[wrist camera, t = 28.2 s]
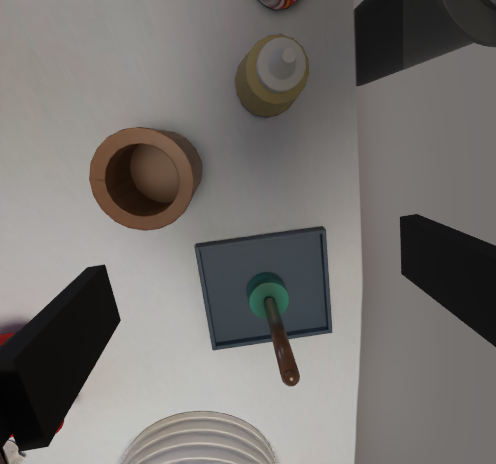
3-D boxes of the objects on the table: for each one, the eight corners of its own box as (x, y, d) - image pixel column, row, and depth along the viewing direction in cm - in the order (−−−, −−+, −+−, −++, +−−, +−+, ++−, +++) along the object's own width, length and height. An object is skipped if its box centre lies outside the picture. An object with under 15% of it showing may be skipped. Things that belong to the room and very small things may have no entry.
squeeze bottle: (268, 39, 44) (297, -25, 27) (306, 91, 46) (355, 62, 29) (221, 82, 45) (220, 47, 28) (260, 131, 47) (281, 126, 30)
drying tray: (322, 226, 52) (325, 229, 50) (329, 326, 56) (332, 332, 54) (195, 243, 51) (194, 247, 49) (213, 344, 55) (212, 350, 54)
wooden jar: (195, 126, 46) (184, 121, 33) (207, 199, 49) (201, 223, 36) (120, 136, 46) (77, 135, 33) (136, 209, 49) (103, 236, 35)
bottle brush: (282, 269, 52) (320, 352, 32) (286, 303, 54) (323, 402, 34) (245, 274, 52) (258, 361, 32) (249, 308, 54) (265, 411, 33)
